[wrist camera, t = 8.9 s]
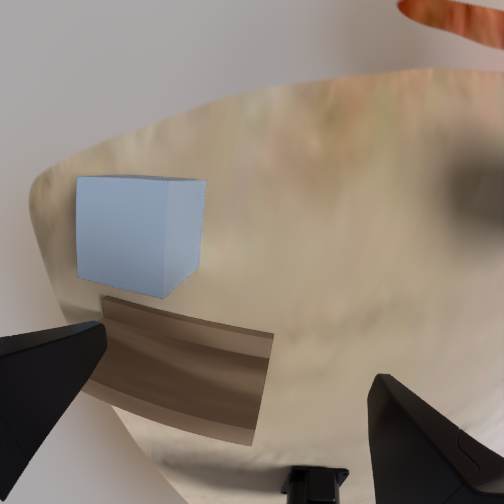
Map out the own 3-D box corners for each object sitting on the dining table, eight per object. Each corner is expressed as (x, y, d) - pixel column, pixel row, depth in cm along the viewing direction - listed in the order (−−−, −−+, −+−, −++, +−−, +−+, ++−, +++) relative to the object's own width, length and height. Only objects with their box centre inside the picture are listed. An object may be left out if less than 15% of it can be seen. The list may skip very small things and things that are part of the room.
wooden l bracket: (264, 384, 22) (247, 461, 14) (112, 344, 24) (60, 393, 16) (274, 333, 21) (259, 409, 13) (107, 295, 22) (44, 338, 15)
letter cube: (199, 267, 20) (163, 300, 15) (127, 254, 21) (78, 278, 15) (206, 180, 19) (169, 181, 13) (130, 174, 20) (77, 176, 14)
